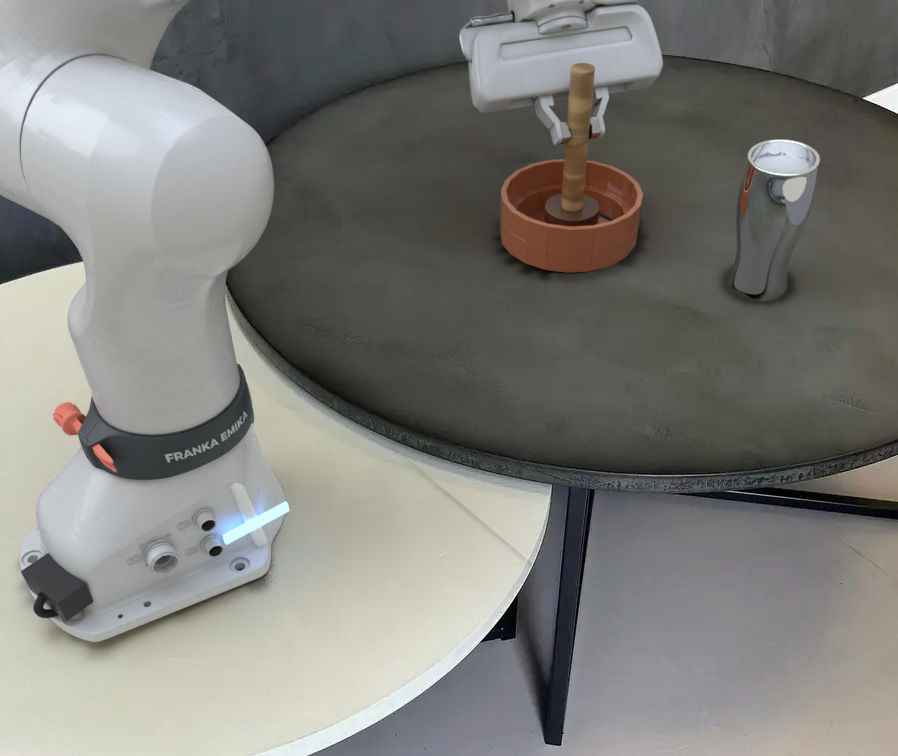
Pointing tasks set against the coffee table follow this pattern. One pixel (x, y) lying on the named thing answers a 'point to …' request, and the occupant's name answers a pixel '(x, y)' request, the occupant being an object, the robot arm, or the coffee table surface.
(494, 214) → the coffee table surface
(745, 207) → the beer glass
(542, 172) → the bowl
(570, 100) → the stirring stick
